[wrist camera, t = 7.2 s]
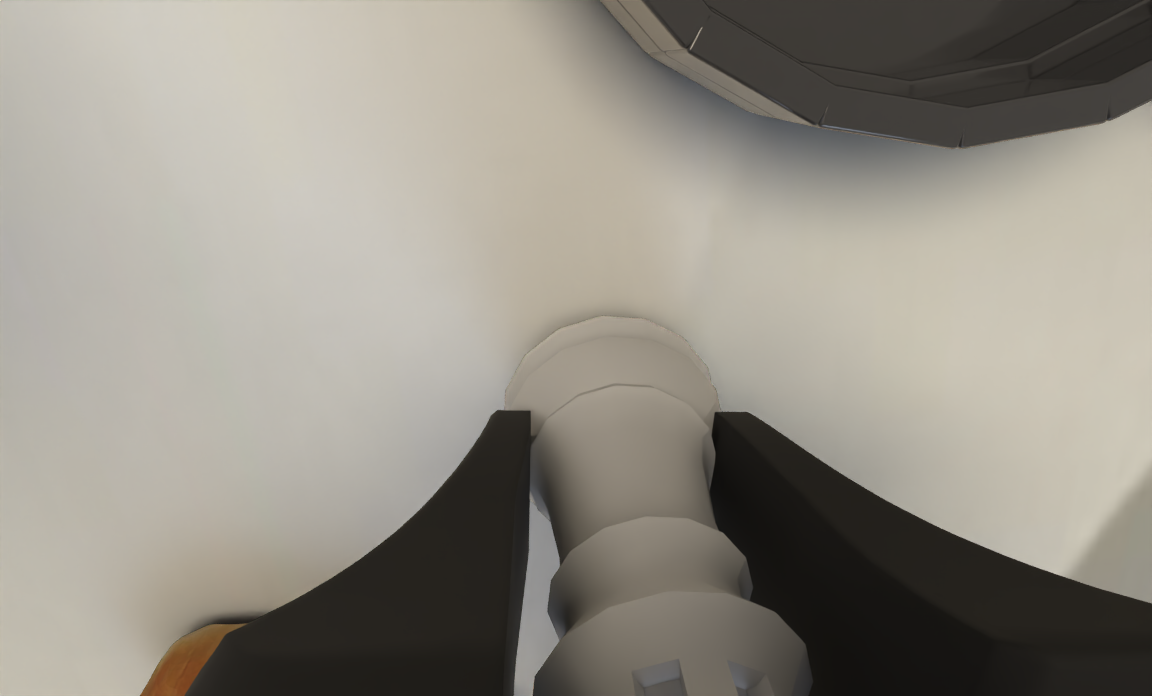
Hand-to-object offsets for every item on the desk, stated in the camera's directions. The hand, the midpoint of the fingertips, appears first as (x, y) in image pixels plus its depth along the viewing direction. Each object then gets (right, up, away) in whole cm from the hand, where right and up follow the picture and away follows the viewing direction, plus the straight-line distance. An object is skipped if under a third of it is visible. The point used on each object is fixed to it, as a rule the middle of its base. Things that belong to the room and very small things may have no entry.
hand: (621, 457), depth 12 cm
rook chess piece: (0, +1, +2) cm, 2 cm away
